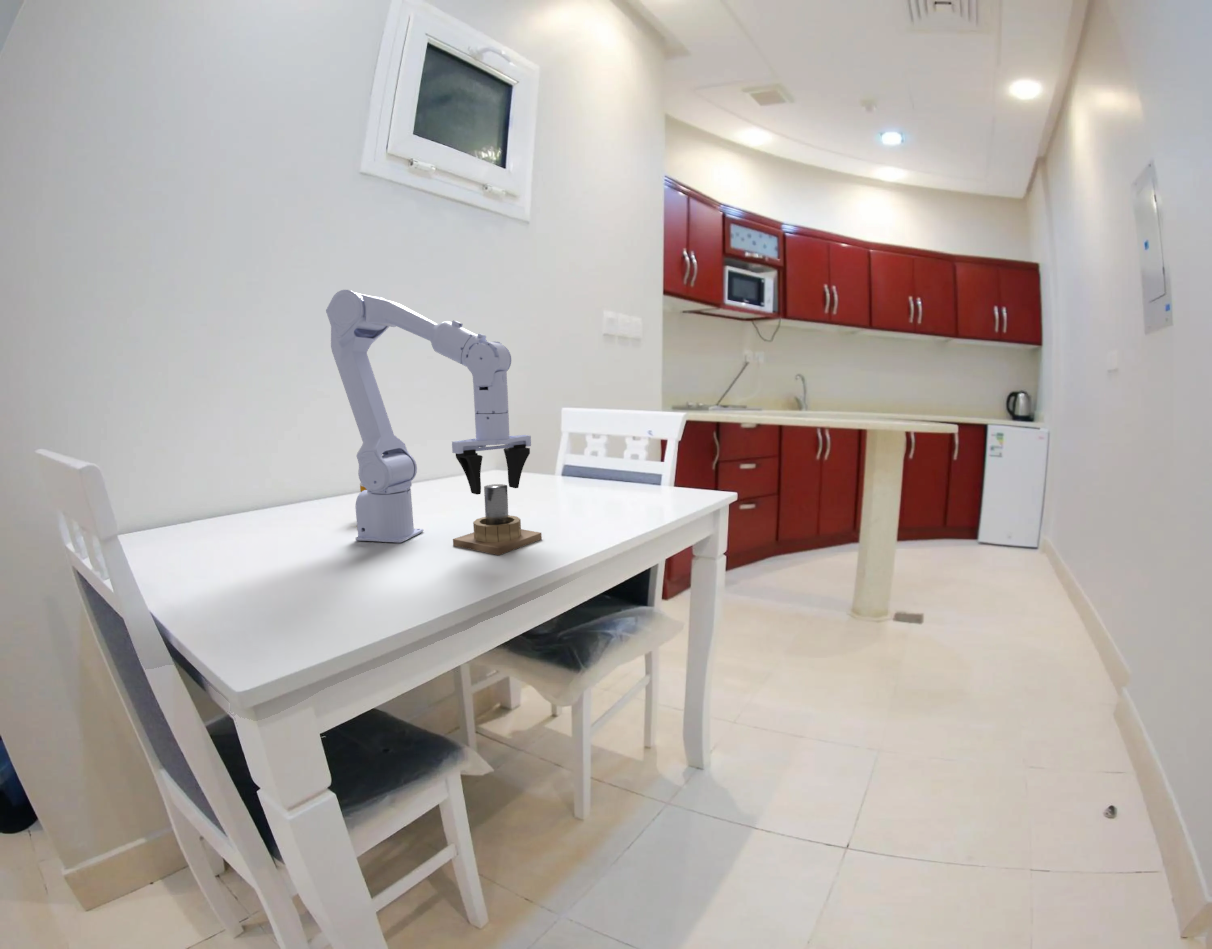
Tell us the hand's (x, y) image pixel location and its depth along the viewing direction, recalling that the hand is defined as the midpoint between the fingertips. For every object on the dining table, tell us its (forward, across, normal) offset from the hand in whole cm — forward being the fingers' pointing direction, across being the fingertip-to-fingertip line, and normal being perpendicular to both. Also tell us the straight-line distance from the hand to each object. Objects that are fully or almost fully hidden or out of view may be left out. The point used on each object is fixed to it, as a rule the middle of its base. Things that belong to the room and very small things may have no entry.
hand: (495, 490), depth 99 cm
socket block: (+10, 0, 0) cm, 10 cm away
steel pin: (+8, 0, 0) cm, 8 cm away
